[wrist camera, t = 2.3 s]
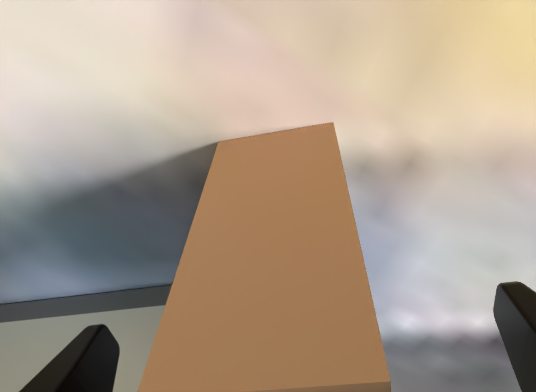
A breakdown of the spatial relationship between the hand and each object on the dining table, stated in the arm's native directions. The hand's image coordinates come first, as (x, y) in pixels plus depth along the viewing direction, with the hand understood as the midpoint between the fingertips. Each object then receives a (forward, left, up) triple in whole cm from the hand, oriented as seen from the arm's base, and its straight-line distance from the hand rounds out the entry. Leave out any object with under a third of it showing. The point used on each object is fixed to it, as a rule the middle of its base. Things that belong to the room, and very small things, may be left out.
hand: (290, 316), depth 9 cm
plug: (0, 0, -5) cm, 5 cm away
